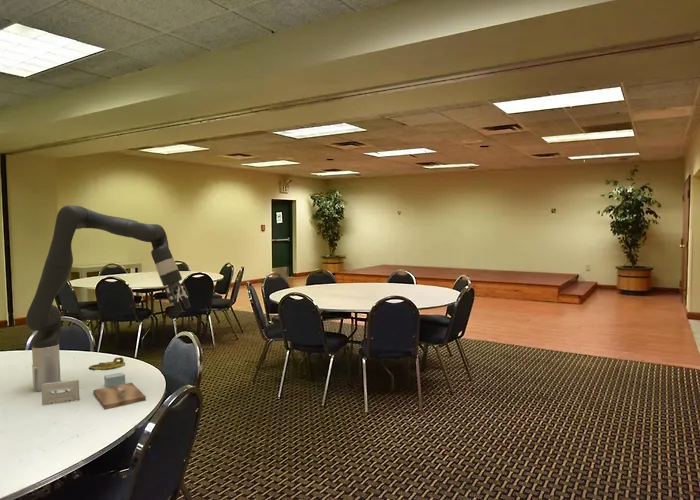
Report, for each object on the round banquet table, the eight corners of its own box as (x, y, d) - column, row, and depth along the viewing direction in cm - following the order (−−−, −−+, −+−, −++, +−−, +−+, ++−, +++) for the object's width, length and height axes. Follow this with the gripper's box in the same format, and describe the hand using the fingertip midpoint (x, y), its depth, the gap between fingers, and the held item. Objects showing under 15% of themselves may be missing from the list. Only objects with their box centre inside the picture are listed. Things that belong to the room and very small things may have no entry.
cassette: (79, 399, 181) (79, 379, 181) (79, 400, 180) (78, 380, 179) (42, 404, 177) (41, 383, 176) (41, 405, 175) (40, 385, 175)
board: (104, 409, 171) (103, 397, 171) (93, 393, 187) (92, 383, 186) (145, 400, 179) (145, 388, 179) (131, 386, 195) (131, 375, 195)
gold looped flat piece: (88, 375, 214) (125, 370, 220) (87, 365, 214) (124, 360, 220) (89, 367, 223) (125, 362, 229) (89, 357, 222) (125, 353, 228)
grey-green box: (107, 388, 193) (106, 377, 193) (104, 385, 197) (104, 374, 196) (125, 384, 197) (125, 374, 197) (122, 381, 201) (122, 371, 200)
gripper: (167, 273, 197) (182, 310, 198) (151, 277, 183) (168, 317, 184) (184, 266, 197) (199, 303, 197) (170, 270, 183) (186, 310, 183)
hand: (184, 310), depth 191 cm, fingers open, 8 cm apart
